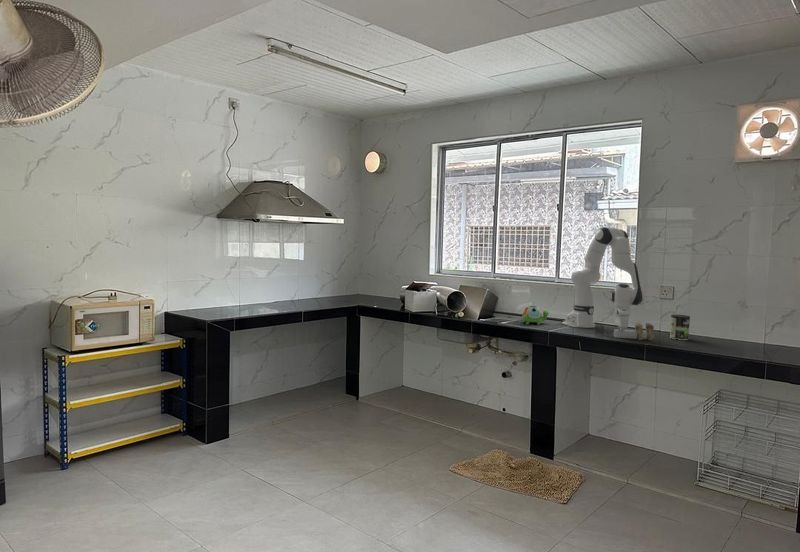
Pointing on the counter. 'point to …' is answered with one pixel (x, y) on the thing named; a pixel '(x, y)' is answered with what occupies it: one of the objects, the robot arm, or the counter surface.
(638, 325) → the collar
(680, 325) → the coffee can
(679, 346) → the counter surface
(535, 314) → the turtle holder
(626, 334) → the tube
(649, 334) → the collar
